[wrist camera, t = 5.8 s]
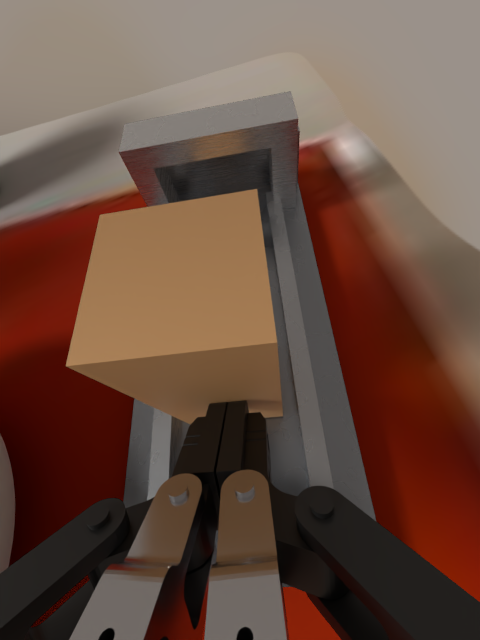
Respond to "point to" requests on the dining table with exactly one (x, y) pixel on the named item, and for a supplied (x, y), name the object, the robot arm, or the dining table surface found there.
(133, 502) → the rail
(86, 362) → the block
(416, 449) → the dining table surface
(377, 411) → the dining table surface
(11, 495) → the serving bowl
